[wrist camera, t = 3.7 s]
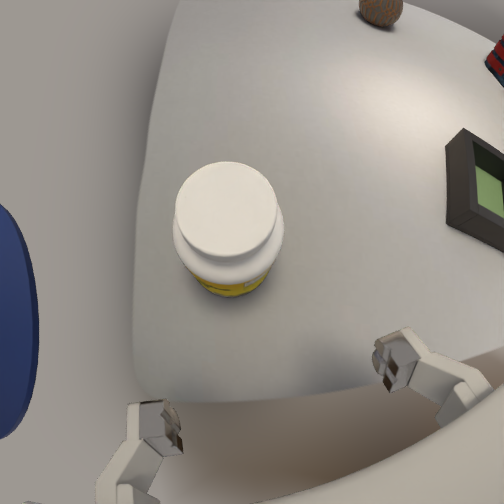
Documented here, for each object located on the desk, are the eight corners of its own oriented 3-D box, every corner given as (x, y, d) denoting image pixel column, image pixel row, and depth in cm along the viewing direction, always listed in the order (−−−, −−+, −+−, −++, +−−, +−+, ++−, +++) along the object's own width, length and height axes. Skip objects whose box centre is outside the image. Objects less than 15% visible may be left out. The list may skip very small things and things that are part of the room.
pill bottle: (176, 257, 24) (132, 203, 13) (233, 207, 25) (230, 126, 15) (229, 315, 23) (220, 304, 12) (286, 261, 24) (321, 208, 14)
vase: (379, 34, 34) (396, -8, 25) (346, 11, 35) (359, -30, 26) (401, 29, 35) (419, -8, 26) (370, 8, 36) (384, -29, 28)
